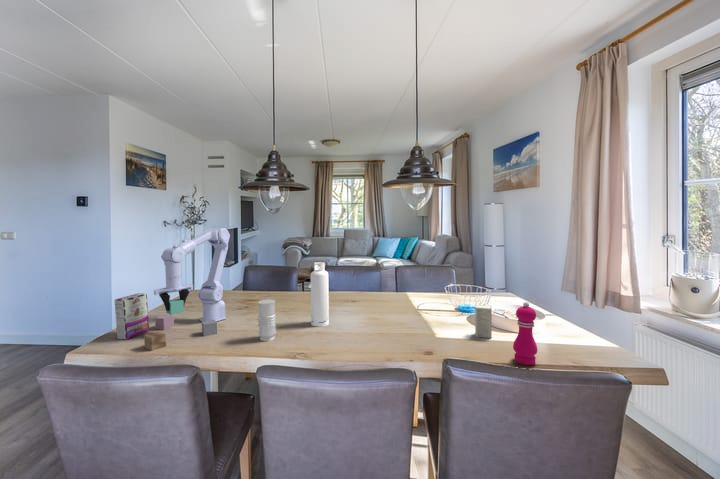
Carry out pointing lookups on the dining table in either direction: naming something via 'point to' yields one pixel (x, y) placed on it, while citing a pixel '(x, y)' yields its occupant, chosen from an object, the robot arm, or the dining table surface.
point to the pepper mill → (525, 336)
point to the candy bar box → (131, 316)
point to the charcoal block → (209, 327)
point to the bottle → (319, 295)
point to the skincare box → (483, 321)
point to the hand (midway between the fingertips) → (175, 309)
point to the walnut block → (155, 340)
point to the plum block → (164, 322)
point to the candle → (267, 320)
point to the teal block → (176, 306)
